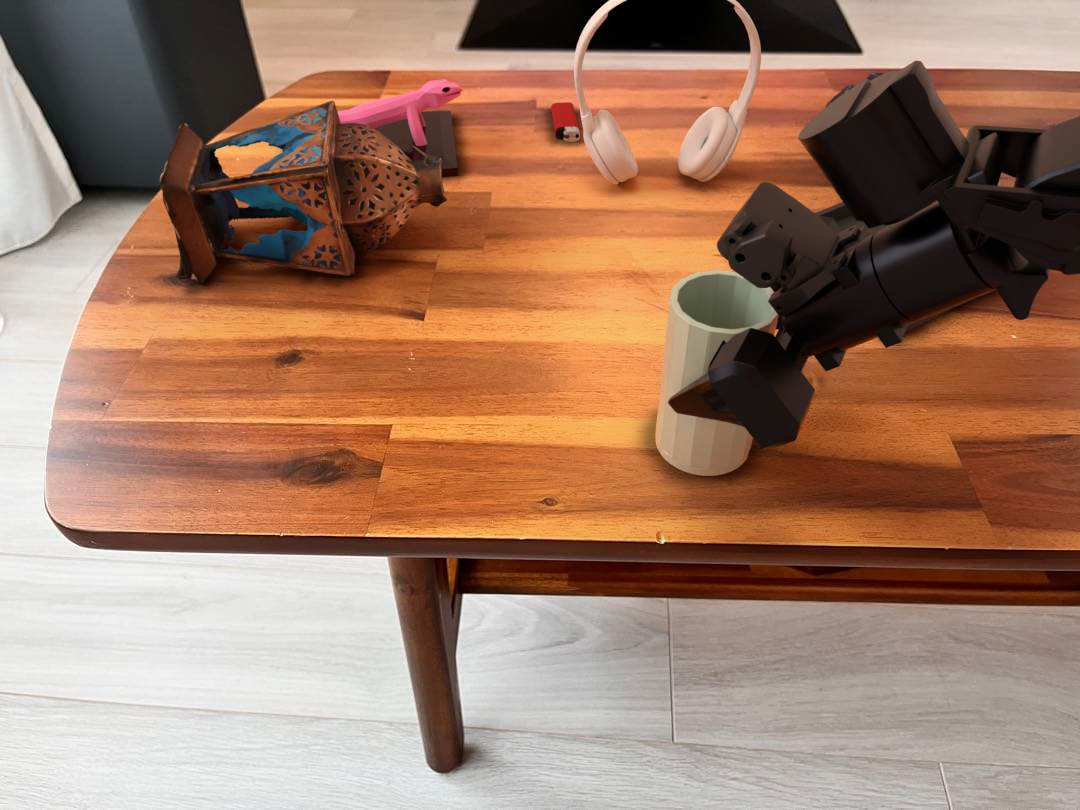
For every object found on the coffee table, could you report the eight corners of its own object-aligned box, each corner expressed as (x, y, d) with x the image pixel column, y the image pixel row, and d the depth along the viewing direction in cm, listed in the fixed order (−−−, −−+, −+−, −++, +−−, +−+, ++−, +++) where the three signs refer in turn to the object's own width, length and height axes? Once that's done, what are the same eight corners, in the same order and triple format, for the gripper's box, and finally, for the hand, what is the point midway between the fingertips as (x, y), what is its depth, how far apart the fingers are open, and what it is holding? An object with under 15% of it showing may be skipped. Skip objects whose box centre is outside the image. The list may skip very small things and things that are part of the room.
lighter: (574, 102, 109) (580, 131, 103) (574, 112, 110) (580, 141, 104) (550, 102, 109) (556, 132, 103) (550, 112, 109) (556, 142, 104)
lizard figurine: (471, 174, 98) (467, 110, 93) (285, 187, 96) (271, 122, 91) (463, 117, 109) (459, 56, 104) (296, 127, 107) (283, 66, 102)
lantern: (212, 315, 90) (460, 283, 91) (149, 272, 74) (451, 234, 75) (196, 160, 92) (439, 131, 93) (131, 86, 76) (426, 51, 77)
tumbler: (769, 451, 66) (802, 309, 57) (696, 490, 63) (719, 346, 55) (707, 399, 71) (729, 258, 62) (636, 433, 68) (648, 291, 59)
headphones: (569, 165, 99) (572, -26, 86) (734, 160, 100) (762, -31, 86) (574, 198, 94) (578, -1, 81) (748, 192, 95) (780, -6, 81)
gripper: (858, 99, 56) (674, 214, 67) (772, 245, 44) (565, 355, 55) (952, 239, 58) (760, 327, 70) (895, 413, 46) (674, 486, 57)
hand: (695, 366), depth 63 cm, fingers open, 9 cm apart
